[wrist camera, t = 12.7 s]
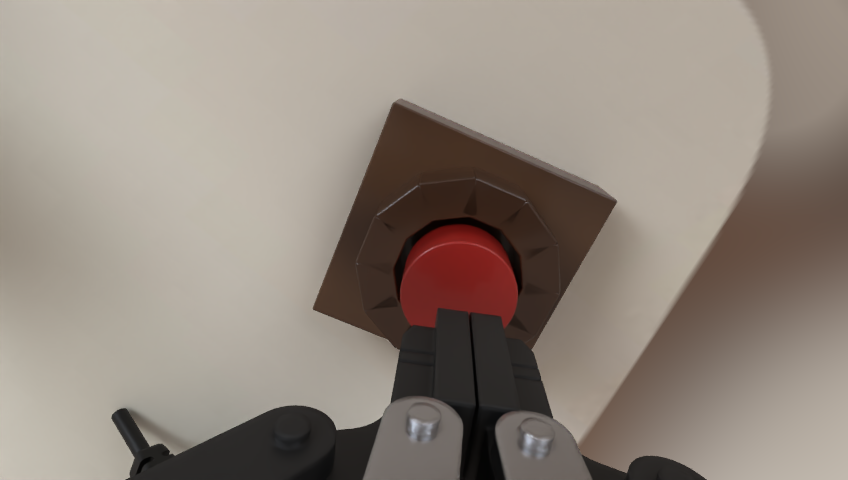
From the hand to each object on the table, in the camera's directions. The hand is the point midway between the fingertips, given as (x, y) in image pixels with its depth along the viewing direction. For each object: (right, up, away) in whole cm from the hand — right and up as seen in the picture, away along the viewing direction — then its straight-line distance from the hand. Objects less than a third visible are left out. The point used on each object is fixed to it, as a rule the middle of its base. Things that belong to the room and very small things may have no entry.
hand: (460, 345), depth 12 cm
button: (0, +1, +4) cm, 4 cm away
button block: (0, +3, +7) cm, 8 cm away
